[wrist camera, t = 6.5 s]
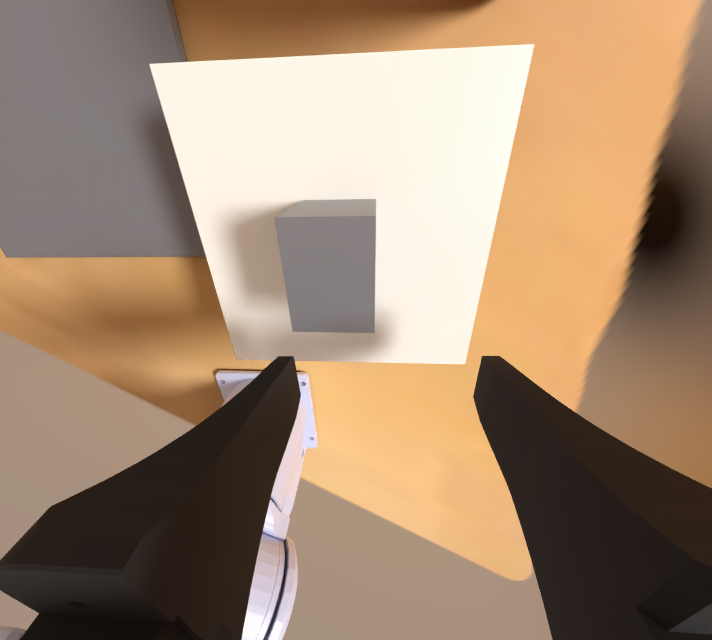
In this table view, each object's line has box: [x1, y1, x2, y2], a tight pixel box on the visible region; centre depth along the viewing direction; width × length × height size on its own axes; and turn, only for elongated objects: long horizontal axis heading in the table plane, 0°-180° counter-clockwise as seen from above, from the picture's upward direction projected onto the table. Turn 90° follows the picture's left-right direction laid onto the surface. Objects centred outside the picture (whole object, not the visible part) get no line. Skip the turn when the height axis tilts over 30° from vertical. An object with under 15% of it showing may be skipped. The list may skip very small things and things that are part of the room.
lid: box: [149, 44, 534, 364], centre depth 11 cm, size 13×13×5 cm
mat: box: [0, 0, 206, 257], centre depth 15 cm, size 16×16×1 cm
